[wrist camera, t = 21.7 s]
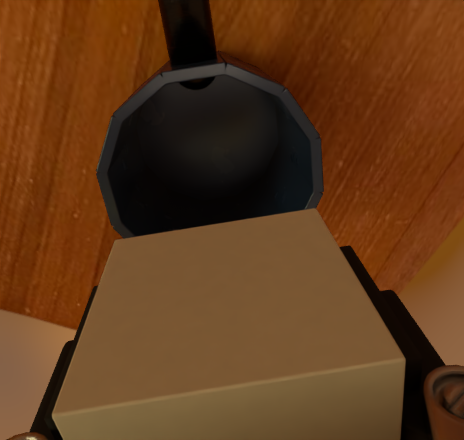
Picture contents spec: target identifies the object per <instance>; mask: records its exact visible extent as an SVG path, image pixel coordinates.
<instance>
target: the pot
mask: <svg viewBox="0 0 464 440" xmlns="http://www.w3.org/2000/svg"><path fill="white" fill-rule="evenodd" d="M158 2H159V8H160V13H161V18H162V23H163V28H164V33H165V39H166V44H167V49H168V54H169V59H170V60H169V61H168V62H167V63H166V64H164V65H163V66H162V67H161V68H160V69H159V70H158V71H156V72H155V73H154V74H153V75H152V76H151V77H150V78H149V79H147V80H146V81H145V82H144V83H143V84H142V85H141V86H140V87H139V88H138V89H137V90H136V91H135V92H134V93H133V94H132V95H131V96H130V97H129V98H128V99H127V100H126V101H125V102H124V103H123V104H122V105H121V106H120V107H119V108H118V109H117V110H116V111H115V112H114V113H113V115H112V117H111V120H110V123H109V127H108V130H107V134H106V137H105V141H104V144H103V148H102V151H101V155H100V159H99V162H98V166H97V169H96V172H97V173H96V175H97V179H98V182H99V186H100V189H101V192H102V196H103V199H104V202H105V206H106V209H107V213H108V216H109V219H110V223H111V225H112V226H113V229H115V230H116V231H117V232H118V233H119V234H120V235H121V236H122V237H123V238H124V239H125V238H131V237H138V236H144V235H150V234H156V233H163V232H169V231H175V230H181V229H188V228H194V227H200V226H207V225H213V224H219V223H225V222H232V221H238V220H244V219H250V218H257V217H263V216H269V215H275V214H282V213H288V212H294V211H300V210H307V209H313V208H316V207H317V205H318V203H319V201H320V199H321V197H322V195H323V193H322V192H324V186H323V168H322V149H321V138H320V137H319V136H320V134H319V133H318V132H317V130H316V129H315V127H314V126H313V124H312V123H311V122H310V120H309V119H308V117H307V116H306V114H305V113H304V112H303V110H302V109H301V107H300V106H299V104H298V103H297V102H296V100H295V99H294V97H293V96H292V94H291V93H290V92H289V90H288V89H287V88H286V87H285V86H283V85H282V84H281V83H279V82H278V81H276V80H275V79H273V78H272V77H270V76H269V75H268V74H266V73H265V72H263V71H262V70H260V69H259V68H257V67H256V66H253V65H251V64H249V63H246V62H244V61H242V60H240V59H238V58H235V57H232V56H230V55H228V54H225V53H223V52H221V51H216V45H215V38H214V31H213V25H212V18H211V11H210V4H209V0H158Z"/></svg>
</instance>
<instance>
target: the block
mask: <svg viewBox="0 0 464 440" xmlns="http://www.w3.org/2000/svg"><path fill="white" fill-rule="evenodd" d="M405 362H406V359H405V357H404V355H403V354H402V352H401V350H400V349H399V347H398V345H397V344H396V342H395V340H394V339H393V337H392V335H391V334H390V332H389V330H388V329H387V327H386V325H385V323H384V322H383V320H382V318H381V317H380V315H379V313H378V312H377V310H376V308H375V307H374V305H373V303H372V302H371V300H370V298H369V297H368V295H367V293H366V292H365V290H364V288H363V286H362V285H361V283H360V281H359V280H358V278H357V276H356V275H355V273H354V271H353V270H352V268H351V266H350V265H349V263H348V261H347V260H346V258H345V256H344V255H343V253H342V251H341V250H340V248H339V246H338V244H337V243H336V241H335V239H334V238H333V236H332V234H331V233H330V231H329V229H328V228H327V226H326V224H325V223H324V221H323V219H322V218H321V216H320V214H319V213H318V211H317V209H316V208H313V209H307V210H300V211H294V212H288V213H282V214H275V215H269V216H263V217H257V218H250V219H244V220H238V221H232V222H225V223H219V224H213V225H207V226H200V227H194V228H188V229H181V230H175V231H169V232H163V233H156V234H150V235H144V236H138V237H131V238H125V239H119V240H115V241H114V244H113V247H112V250H111V252H110V255H109V258H108V261H107V263H106V266H105V269H104V272H103V274H102V277H101V280H100V283H99V286H98V288H97V291H96V294H95V297H94V299H93V302H92V305H91V308H90V310H89V313H88V316H87V319H86V321H85V324H84V327H83V330H82V332H81V335H80V338H79V341H78V344H77V346H76V349H75V352H74V355H73V357H72V360H71V363H70V366H69V368H68V371H67V374H66V377H65V379H64V382H63V385H62V388H61V390H60V393H59V396H58V399H57V402H56V404H55V407H54V410H53V413H52V418H53V420H54V422H55V424H56V426H57V428H58V430H59V432H60V434H61V436H62V438H63V440H400V439H401V424H402V408H403V393H404V377H405Z"/></svg>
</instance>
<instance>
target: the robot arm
mask: <svg viewBox="0 0 464 440" xmlns="http://www.w3.org/2000/svg"><path fill="white" fill-rule="evenodd" d="M339 248H340V250H341V251H342V253H343V255H344V256H345V258H346V260H347V261H348V263H349V265H350V266H351V268H352V270H353V271H354V273H355V275H356V276H357V278H358V280H359V281H360V283H361V285H362V286H363V288H364V290H365V292H366V293H367V295H368V297H369V298H370V300H371V302H372V303H373V305H374V307H375V308H376V310H377V312H378V313H379V315H380V317H381V318H382V320H383V322H384V323H385V325H386V327H387V329H388V330H389V332H390V334H391V335H392V337H393V339H394V340H395V342H396V344H397V345H398V347H399V349H400V350H401V352H402V354H403V355H404V357H405V359H406V362H405V377H404V393H403V408H402V424H401V439H400V440H464V366H459V365H447V366H446V365H445V364H444V362H443V361H442V359H441V358H440V356H439V355H438V354H437V352H436V351H435V349H434V348H433V346H432V345H431V343H430V342H429V341H428V339H427V338H426V337H425V335H424V333H423V332H422V330H421V329H420V328H419V326H418V325H417V323H416V322H415V320H414V319H413V318H412V316H411V315H410V313H409V312H408V310H407V309H406V308H405V306H404V305H403V303H402V302H401V300H400V299H399V297H398V296H397V295H396V293H395V292H394V291H392V290H385V291H379V289H378V288H377V286H376V284H375V283H374V281H373V280H372V278H371V277H370V275H369V274H368V272H367V270H366V269H365V267H364V266H363V264H362V263H361V261H360V260H359V258H358V256H357V255H356V253H355V252H354V250H353V249H352V247H351V246H343V247H339ZM98 286H99V285H98ZM98 286H95V287H94V288H93V290H92V293H91V295H90V298H89V301H88V303H87V306H86V308H85V311H84V314H83V316H82V319H81V322H80V324H79V327H78V330H77V332H76V335H75V338H74V340H72V341H68V342H67V343H66V344H65V345H64V347H63V349H62V352H61V354H60V357H59V359H58V362H57V364H56V367H55V369H54V372H53V374H52V377H51V379H50V382H49V384H48V387H47V389H46V392H45V394H44V397H43V399H42V402H41V404H40V407H39V409H38V412H37V414H36V417H35V419H34V422H33V424H32V427H31V429H30V432H26V433H22V434H18V435H15V436H13V437H11V438H9V439H7V440H63V438H62V436H61V434H60V432H59V430H58V428H57V426H56V424H55V422H54V420H53V418H52V413H53V410H54V407H55V404H56V402H57V399H58V396H59V393H60V390H61V388H62V385H63V382H64V379H65V377H66V374H67V371H68V368H69V366H70V363H71V360H72V357H73V355H74V352H75V349H76V346H77V344H78V341H79V338H80V335H81V332H82V330H83V327H84V324H85V321H86V319H87V316H88V313H89V310H90V308H91V305H92V302H93V299H94V297H95V294H96V291H97V288H98Z"/></svg>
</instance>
